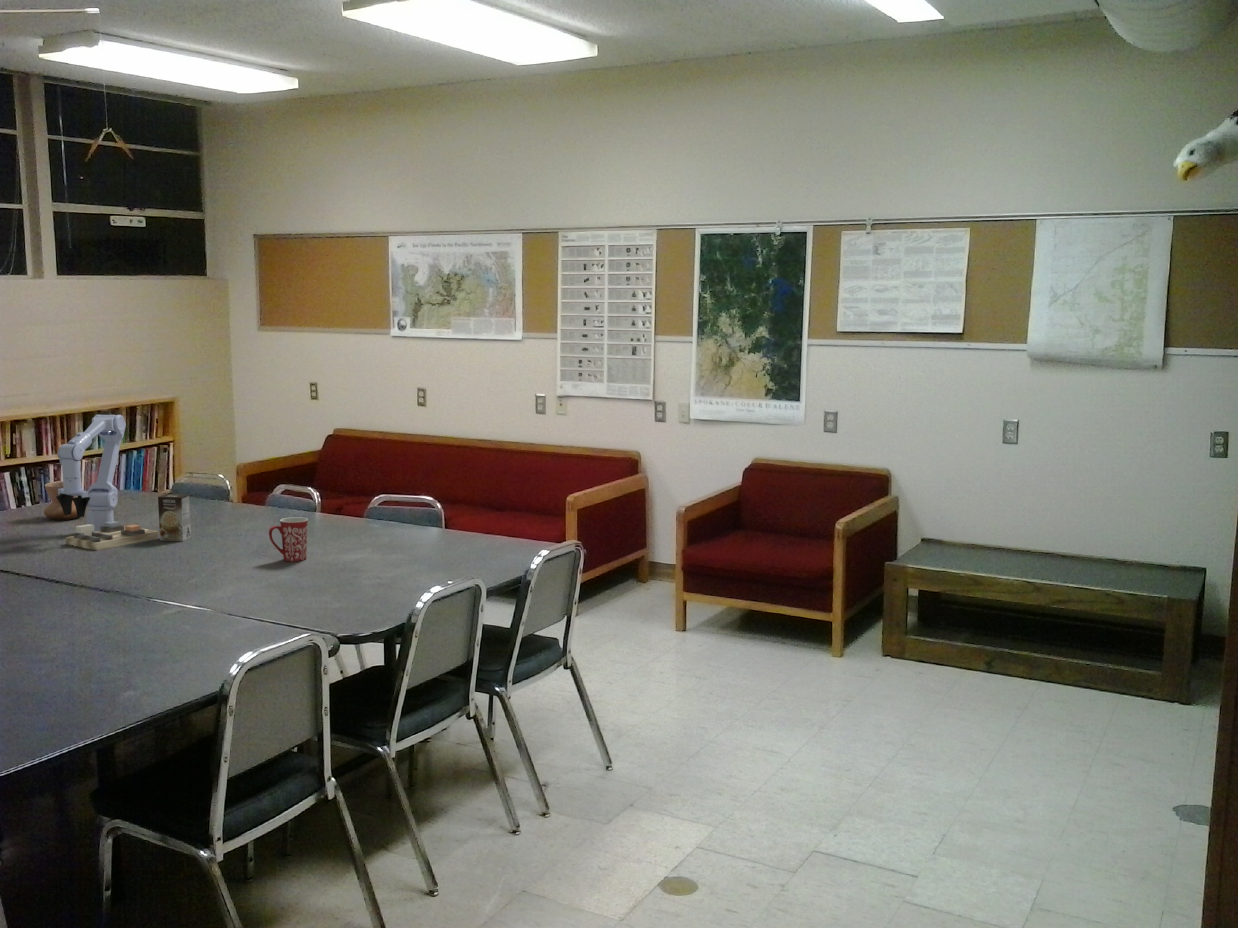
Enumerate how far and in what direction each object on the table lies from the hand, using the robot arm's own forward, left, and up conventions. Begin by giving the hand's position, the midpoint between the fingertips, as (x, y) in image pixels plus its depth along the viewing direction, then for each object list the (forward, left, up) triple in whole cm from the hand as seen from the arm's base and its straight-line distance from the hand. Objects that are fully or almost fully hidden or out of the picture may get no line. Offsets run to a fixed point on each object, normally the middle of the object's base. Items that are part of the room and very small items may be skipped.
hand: (74, 515), depth 384 cm
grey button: (+3, +12, -6) cm, 14 cm away
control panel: (+9, +8, -10) cm, 16 cm away
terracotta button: (+15, +12, -6) cm, 20 cm away
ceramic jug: (-44, +23, -10) cm, 50 cm away
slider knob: (+6, 0, -7) cm, 9 cm away
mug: (+84, +22, -10) cm, 88 cm away
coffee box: (+25, +22, -10) cm, 35 cm away
